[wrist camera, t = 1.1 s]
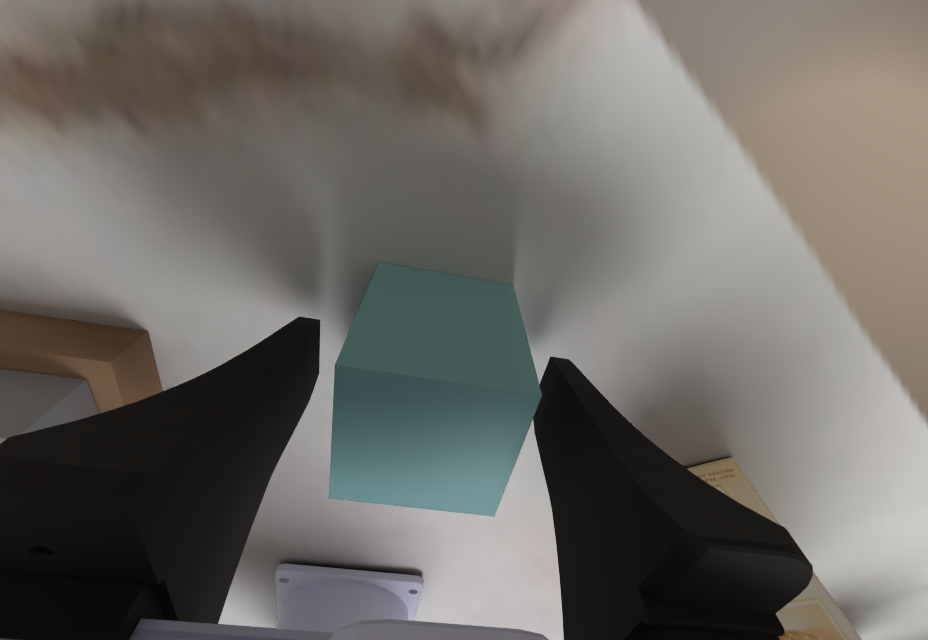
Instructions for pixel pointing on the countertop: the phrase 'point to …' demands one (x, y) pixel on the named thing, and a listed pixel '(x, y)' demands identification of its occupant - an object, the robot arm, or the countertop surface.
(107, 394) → the walnut slab
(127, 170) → the countertop surface
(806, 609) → the coffeecake box
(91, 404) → the gray square slab
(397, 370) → the teal block
